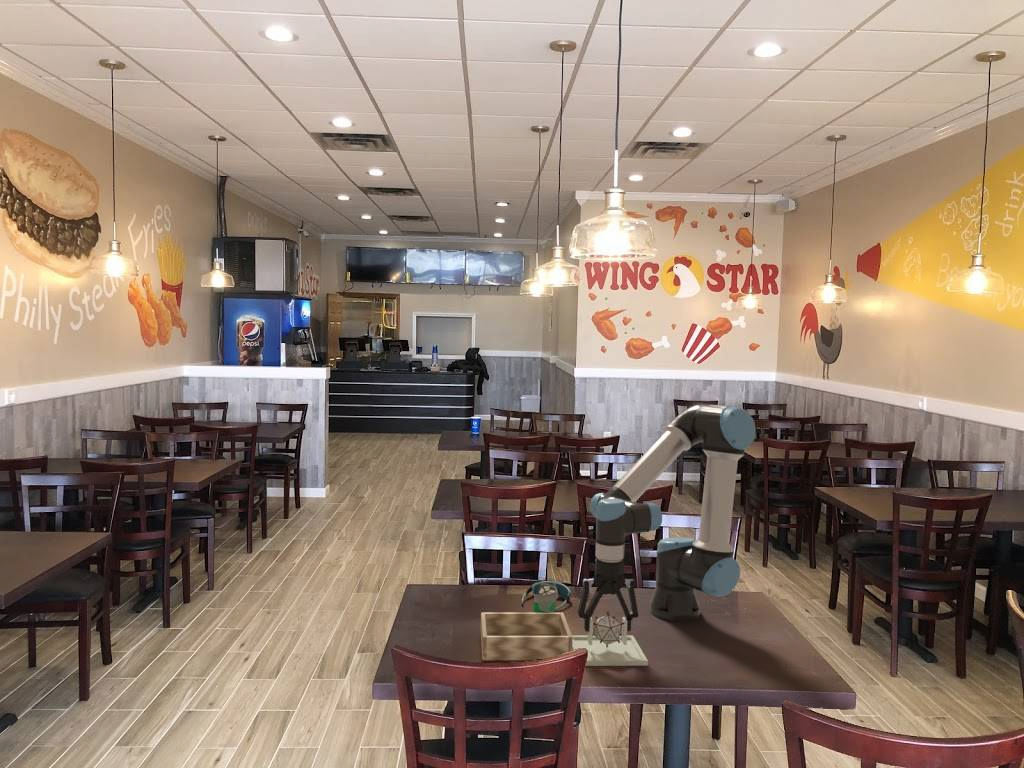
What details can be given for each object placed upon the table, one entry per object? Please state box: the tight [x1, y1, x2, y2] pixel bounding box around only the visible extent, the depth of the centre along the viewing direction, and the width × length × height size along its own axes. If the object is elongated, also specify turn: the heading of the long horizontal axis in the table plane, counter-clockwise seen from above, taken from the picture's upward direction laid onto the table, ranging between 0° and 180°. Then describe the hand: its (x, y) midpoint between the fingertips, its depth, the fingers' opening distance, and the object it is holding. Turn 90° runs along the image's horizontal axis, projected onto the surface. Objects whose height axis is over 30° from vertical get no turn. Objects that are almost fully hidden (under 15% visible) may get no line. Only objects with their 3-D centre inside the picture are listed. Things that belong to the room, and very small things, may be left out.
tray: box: [571, 634, 649, 667], centre depth 202 cm, size 18×17×1 cm
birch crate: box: [480, 611, 573, 661], centre depth 204 cm, size 23×18×6 cm
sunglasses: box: [521, 580, 572, 612], centre depth 238 cm, size 14×15×5 cm
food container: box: [533, 583, 559, 613], centre depth 221 cm, size 12×6×10 cm, turn 168°
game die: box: [593, 611, 624, 647], centre depth 201 cm, size 9×8×10 cm
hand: (607, 642), depth 201 cm, fingers closed on game die, 8 cm apart
